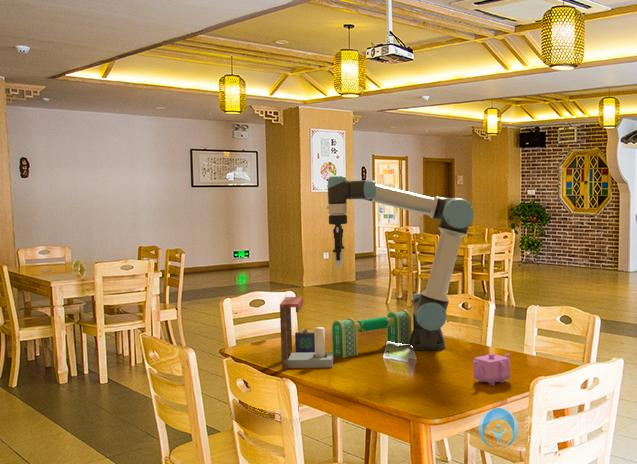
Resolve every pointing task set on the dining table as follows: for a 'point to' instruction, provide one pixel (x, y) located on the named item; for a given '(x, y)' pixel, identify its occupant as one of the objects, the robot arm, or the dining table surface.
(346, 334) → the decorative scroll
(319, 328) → the peg
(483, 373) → the pink square teapot
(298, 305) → the curved red bench
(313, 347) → the flask
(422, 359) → the dining table surface
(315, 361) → the socket block
